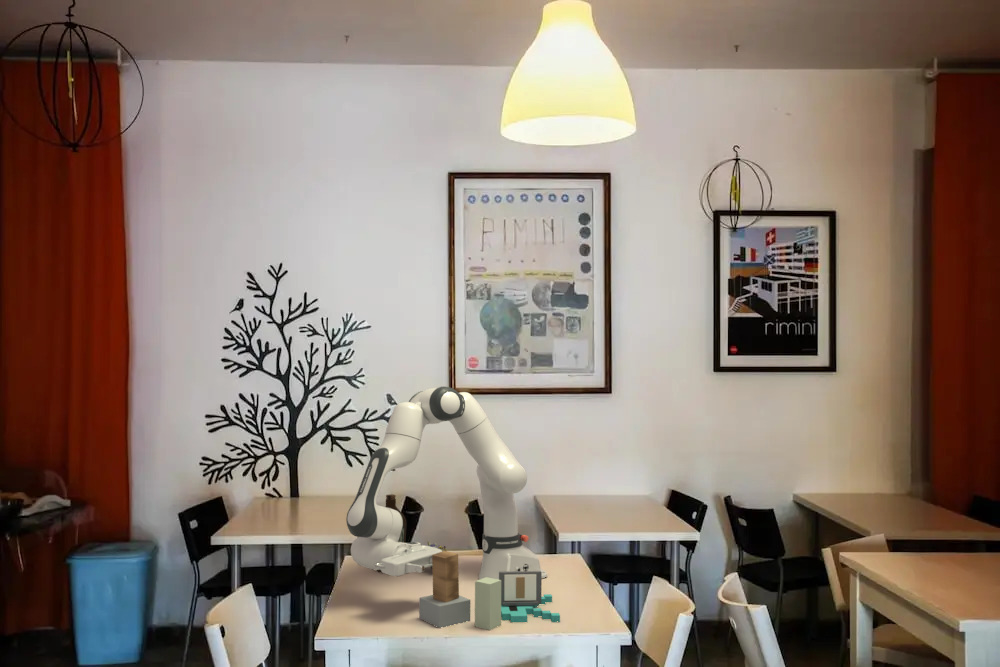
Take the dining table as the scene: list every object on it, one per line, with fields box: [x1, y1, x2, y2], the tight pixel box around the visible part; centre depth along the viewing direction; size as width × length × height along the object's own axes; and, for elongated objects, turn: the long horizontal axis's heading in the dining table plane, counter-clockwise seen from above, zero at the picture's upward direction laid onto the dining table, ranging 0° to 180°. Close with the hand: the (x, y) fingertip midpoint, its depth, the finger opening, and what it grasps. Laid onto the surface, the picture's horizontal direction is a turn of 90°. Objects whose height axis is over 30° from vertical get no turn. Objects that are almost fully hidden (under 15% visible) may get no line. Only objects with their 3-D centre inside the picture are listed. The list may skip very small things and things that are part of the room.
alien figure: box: [501, 594, 561, 623], centre depth 235 cm, size 20×2×20 cm
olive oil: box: [375, 493, 407, 574], centre depth 279 cm, size 11×11×25 cm
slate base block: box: [418, 594, 471, 629], centre depth 227 cm, size 10×10×6 cm
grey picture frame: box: [499, 571, 543, 606], centre depth 236 cm, size 12×5×9 cm, turn 94°
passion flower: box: [427, 540, 447, 568], centre depth 278 cm, size 11×11×12 cm
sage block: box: [474, 577, 502, 631], centre depth 222 cm, size 5×5×12 cm
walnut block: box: [432, 550, 460, 602], centre depth 227 cm, size 5×5×12 cm
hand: (434, 565), depth 229 cm, fingers open, 8 cm apart
